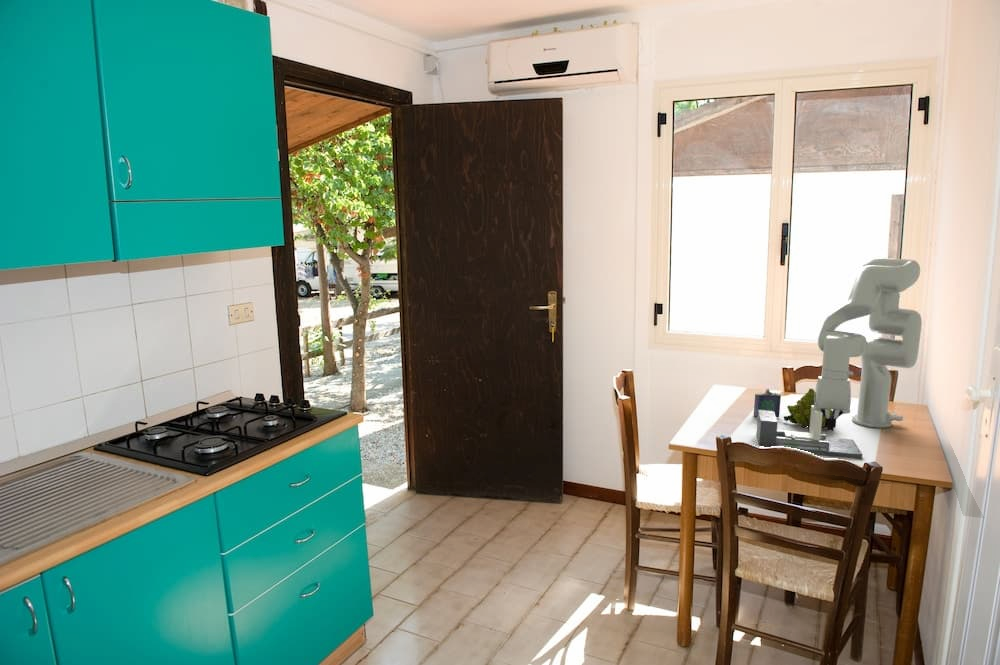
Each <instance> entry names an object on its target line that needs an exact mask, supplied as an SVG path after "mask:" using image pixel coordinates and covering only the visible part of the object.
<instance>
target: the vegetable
mask: <svg viewBox="0 0 1000 665" xmlns="http://www.w3.org/2000/svg"><path fill="white" fill-rule="evenodd" d="M814 396H815V389H814V388H809V389H808V391H807V392H805V393H804V395H802V397H801V398H800V400H799V399H798V400H797V401H796V404H794V405H787V406H786V407H787V409H788V413H789V414H790V415H785V416H783V420H784V421H785V422H788V421H789V422H790V423H792V424H793V423H794V425H795V424H796V425H800V424H801V425H800V426H801V427H802V428H803V427H805V428H810V417H811V405H814V404H815V403H814ZM829 413H830V417H831V415H832V413H833V410H832V409H829ZM807 426H808V427H807ZM822 429H825V430H827V428H826V427H825V416H824V415H822V426H821V430H822Z"/></svg>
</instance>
